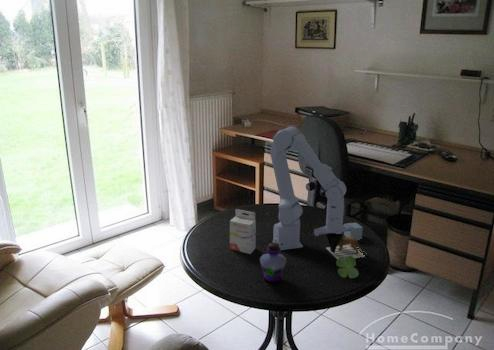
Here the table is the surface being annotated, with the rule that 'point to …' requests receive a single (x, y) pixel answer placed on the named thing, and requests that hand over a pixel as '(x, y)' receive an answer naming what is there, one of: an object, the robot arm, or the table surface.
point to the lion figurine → (348, 241)
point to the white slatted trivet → (345, 252)
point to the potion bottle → (273, 263)
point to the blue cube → (356, 233)
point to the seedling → (347, 267)
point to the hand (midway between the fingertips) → (332, 251)
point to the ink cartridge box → (243, 232)
